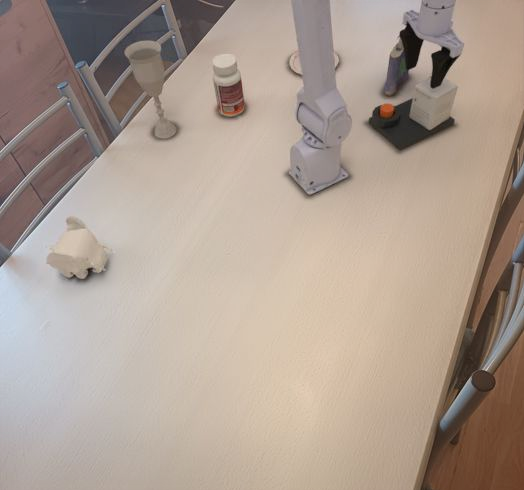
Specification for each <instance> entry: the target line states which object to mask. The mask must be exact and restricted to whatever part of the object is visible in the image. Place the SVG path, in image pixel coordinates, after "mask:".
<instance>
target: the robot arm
mask: <svg viewBox="0 0 524 490" xmlns="http://www.w3.org/2000/svg"><path fill="white" fill-rule="evenodd" d="M330 1H331V0H290V3H291V9H292V15H293V22H294V23H293V24H294V29H295V36H296V37H297V38H296V37H295V38H296V42H297V49H298V50H297V51H299V57H300V64H301V71H302V75H301V78H302V83H303V87H301V88H300V89H299V90H298V92H297V93H296V106H295V110H294V117H295V120H296V122H297V123H298V124H299V125H301V132H302V133H303V135H302V137H301V138H300V139H299V140H298V141H297V142H296V143H294V144H293V145H292V146H291V147H290V149H289V156H290V157H289V158H290V159H289V160H290V170H289V171H288V174H289V175H290V176H291V178H292V179H293V181H295V182H296V183H297V184H298V185H299V186H300V187H301V188H302V189H303V191H304V192H305V193H306V194H307V195H309V196H311V195H313V194H316V193H319V192H320V191H321V190H325V189H326V188H328V187H331V186H333V185H334V184H337V183H338V182H340V181H343V180H345V179H347V178H348V177H349V173H348V172H347V171H346V170H345V169H343V168H342V166H341V155H342V154H341V153H342V143H343V142H344V141H345V140H346V139H347V137H348V136H349V134H350V132H351V128H352V126H353V125H352V123H353V119H352V116H351V115H350V113H349V112H348V109H347V108H348V107H347V103H346V101H345V100H344V97H343V96H342V95H341V92H340V91H339V89H338V87H337V76H336V68H335V61H334V52H335V50H334V38H333V28H332V14H331V3H330ZM456 2H457V0H421V3H420V8H419V12H417V11H415V10H414V9H410V10H408V11H406V12H404V13H403V16H402V25H403V26H405V27H404V28H403V29H401V30H400V31H399V35H398V36H400V38H401V41H402V44H403V48H404V54H405V65H406V69H407V70H409V71H410V70H412V69H414V68H417V65H418V62H419V58H420V55H421V50H422V47H423V44H424V41H426V42H429V43H431V44H434V45H438V46H439V47H440V49H439V50H437V51H435V52H431V55H430V57H431V65H432V66H431V67H432V70H431V76H430V77H431V82H430V87H431V88H432V89H434V88H436V87H438V86H441V84H442V82H443V79H444V78H445V79H446V76H447V74H448V72H449V70H450V69H451V67H452V66H453V65H454V64H455V62H456V61H457V60H458V59H459V57H460V56H461V55H462V53H463V51H464V46H465V43H464V42H463V41H462V40H461V39H460V37H458V35H457V34H456V33H455V31H454V29H453V26H454V22H453V21H452V19H453V14H454V10H455V6H456Z"/></svg>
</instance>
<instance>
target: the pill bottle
mask: <svg viewBox="0 0 524 490" xmlns="http://www.w3.org/2000/svg"><path fill="white" fill-rule="evenodd" d="M212 70H213V74H212V82H213V88H214V93H215V99H216V104H217V109H218V112H219V114H220V115H222V116H224V117H228V118H229V117H230V118H231V117H236V116H239V115H241V114H242V113H244V111H245V97H244V88H243V81H242V74H241V71H240V69H239V68H238V61H237V57H236V55H234V54H231V53H222V54H218V55H216V56H214V58H213V59H212Z"/></svg>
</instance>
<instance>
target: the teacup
mask: <svg viewBox="0 0 524 490" xmlns="http://www.w3.org/2000/svg"><path fill="white" fill-rule="evenodd" d="M295 38H296V39H297V37H295ZM339 59H340V58H339V56H338V54H337V52H335V51H334V61H335V69H336V68H337V67H338V65H339V62H340V61H339ZM289 67H290V69H291V70H292V71H293V72H295V74H298V75H301V76H302V71H301V64H300V57H299V50H297V51H295V52H294V53H293V54H292V55H291V57H290V58H289Z"/></svg>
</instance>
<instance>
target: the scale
mask: <svg viewBox="0 0 524 490" xmlns="http://www.w3.org/2000/svg"><path fill="white" fill-rule="evenodd" d="M412 100H413V97H412V98H410V99H408V100H406V101H403V102H401V103H399V104H397V105H393V106H394V112H393V116H392V117H390V118H384V117H381V116H380V108H381V106H382V105H383V104H380V105H378V106H375V107H374V109H373V110H372V113H371V117H369V118H368V124H369V126H370V127H372V128H373V129H374V130H375V131H377V133H379V134H380V135H381V136H382V137H383V138H384V139H386V140H387V141H388V142H389V143H390V144H392V145H393V146H394V147H395V148H396V149H397V150H398V151H402V150H405V149H406V148H408V147H410V146H413V145H415V144H418V143H420V142H422V141H423V140H426V139H428V138H429V137H431V136H434V135H436V134H438V133H440V132H442V131H444V130H446V129H448V128H451V127H453V126H454V124H455V119H454V118H453V117H452V116H451V115H450V117H449V119H447V120H445V121H444V122H442V123H441V124H439V125H437V126H436V127H434V128H433V129H431V130H428V129H426V128H425V127H424V126H422V125H421V124H419V123H418V122H416V121H414V120H413V119H411V118H410V117H409V115H410V110H411V105H412Z"/></svg>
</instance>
